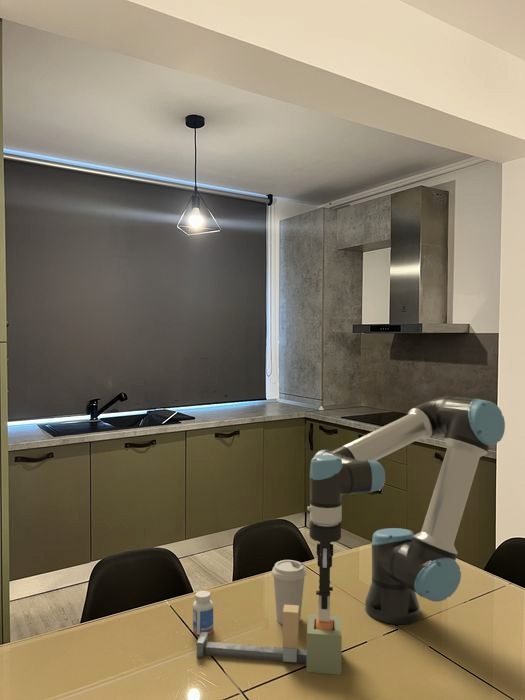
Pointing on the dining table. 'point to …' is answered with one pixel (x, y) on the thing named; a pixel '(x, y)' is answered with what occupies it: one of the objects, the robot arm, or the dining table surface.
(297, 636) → the carriage
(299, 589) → the coffee cup
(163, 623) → the dining table surface
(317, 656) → the green square holder
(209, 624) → the pill bottle
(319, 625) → the orange rounded piece
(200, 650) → the rail
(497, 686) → the dining table surface
